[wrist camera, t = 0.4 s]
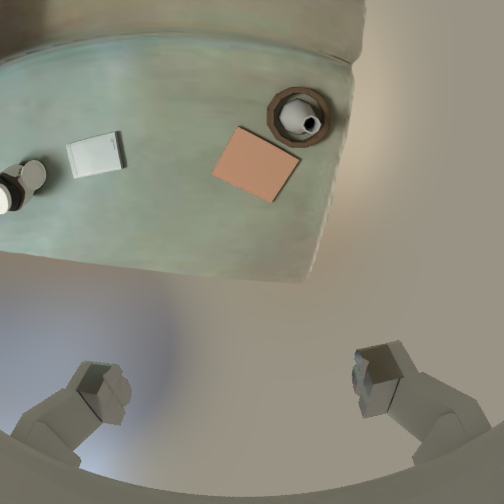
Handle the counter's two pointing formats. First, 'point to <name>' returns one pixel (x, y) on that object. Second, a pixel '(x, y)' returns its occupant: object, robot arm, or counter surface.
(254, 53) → the counter surface
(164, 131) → the counter surface
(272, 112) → the ring holder
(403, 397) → the robot arm
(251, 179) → the terracotta pad
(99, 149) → the hard drive
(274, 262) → the counter surface
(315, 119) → the flask
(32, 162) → the spread jar
